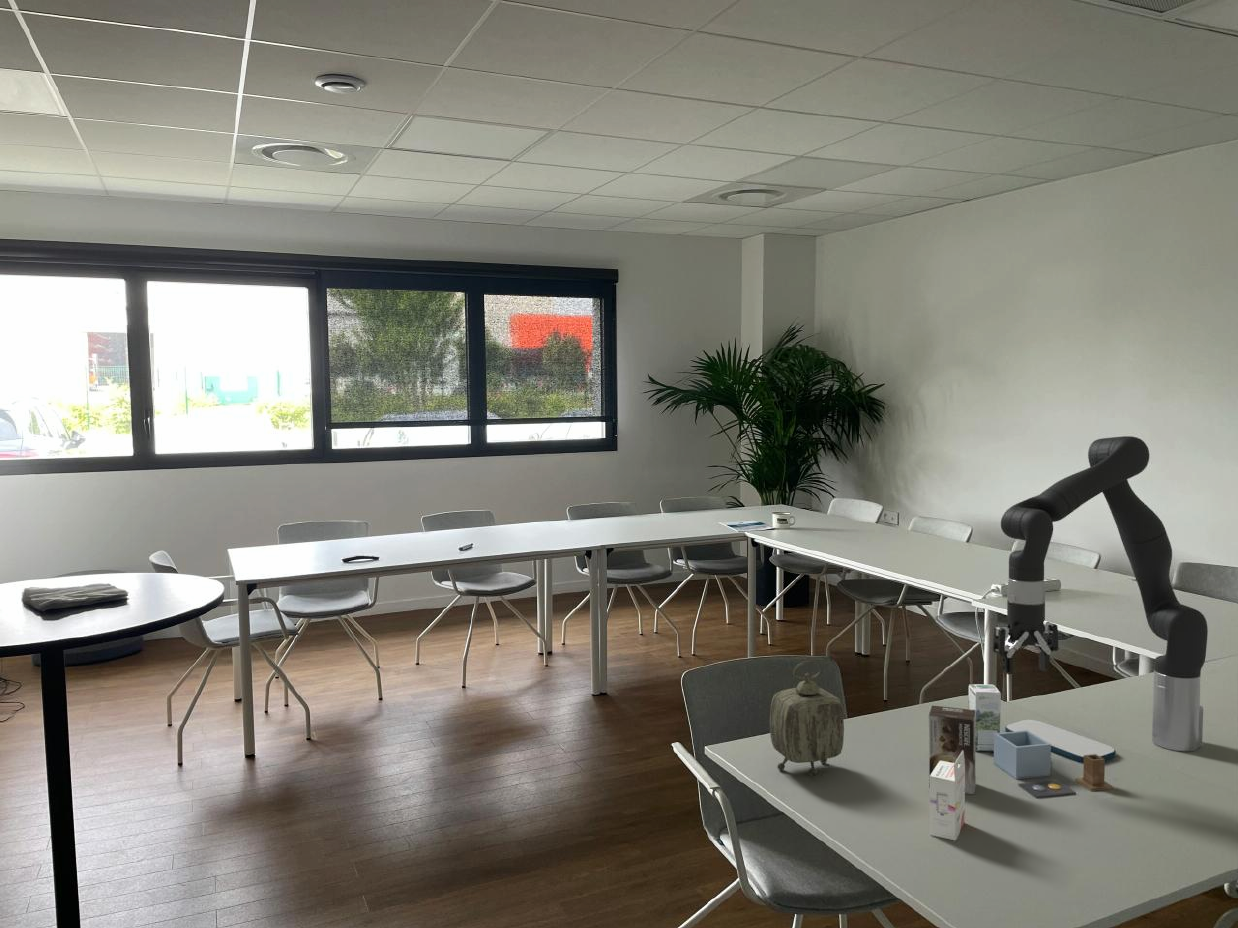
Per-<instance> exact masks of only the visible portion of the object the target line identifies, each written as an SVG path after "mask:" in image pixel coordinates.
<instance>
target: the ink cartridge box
mask: <svg viewBox="0 0 1238 928" xmlns="http://www.w3.org/2000/svg"><path fill="white" fill-rule="evenodd" d="M959 762H961V764H959ZM965 795H966V793H965V761H964V751H962V752H961V754H960V755H959V757H958V758H957V760H956V762H955V763H951V762H946V761H939V763H938V764H937V766H936V767H935V769H934V770H933V772H932V773H931V775H930V788H929V807H930V808H929V814H930V816H929V817H930V819H929V823H930V824H929V825H930V827H929V829H930V831H929V834H930V835H929V836H933V837H935V838H937V837H938V838H941V839H947V840H950V841H957V839H958V838H959V835H960V832H961V830H962V829H963V827H964V824H965V817H966V816H965V813H966V812H965V811H966V808H965V805H966V803H965V802H966V801H965V800H966V797H965Z"/></svg>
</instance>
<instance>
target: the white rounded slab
mask: <svg viewBox="0 0 1238 928" xmlns="http://www.w3.org/2000/svg"><path fill="white" fill-rule="evenodd" d="M1004 729H1005V731H1004V733H1005V732H1016V731H1029V732H1031V733H1032V734H1034V735H1036V736H1038V737H1039V738H1041V739H1043V740H1044V741H1046V742H1048V743H1049V744H1051V754H1056V755H1058V756H1061V757H1063V758H1065V759H1068V760H1070V761H1074V762H1076V763H1080V764H1083V765H1084V755H1092V754H1096V755H1098V756H1100V757H1102V758H1103V759H1105V762H1108V761H1111V760H1113V759H1115V758H1116V754H1117V753H1116V749H1115V748H1114V747H1113V746H1112V745H1111V746H1110V745H1108V744H1107V743H1103V742H1101V741H1098V740H1094V739H1093V738H1089V737H1087V736H1083V735H1081V734H1078V733H1075V732H1073V731H1070V730H1068V729H1064V728H1061V727H1058V726H1055V725H1052V724H1049V723H1047V722H1044V721H1040V720H1035V719H1022V720H1019V721H1014V722H1011V723H1008V724H1006V726H1005V728H1004Z"/></svg>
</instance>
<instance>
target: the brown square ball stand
mask: <svg viewBox="0 0 1238 928" xmlns="http://www.w3.org/2000/svg"><path fill="white" fill-rule="evenodd" d="M1105 762H1106V761H1105V759H1103V758H1102V757H1100V756H1098V755H1096V754H1092V755H1084V764H1083V776H1082V777H1075V778H1074V781H1075V782H1076V783H1077V784H1080V785H1081V786H1082V787H1084V788H1085V789H1087V790H1088V791H1091V792H1093V791H1095V792H1096V791H1103V790H1104V791H1106V790H1113V789H1114V788H1113V785H1111V784H1110V783H1108V782H1107V781H1105V770H1106V769H1105V766H1106V763H1105Z"/></svg>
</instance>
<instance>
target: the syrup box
mask: <svg viewBox="0 0 1238 928" xmlns="http://www.w3.org/2000/svg"><path fill="white" fill-rule="evenodd" d="M1001 701H1002V693H1001V691H1000V690H999V688H997V687H996V685H994V684H984V683H983V684H981V683H980V684H979V683H978V684H973V683H972V684H968V703H967V704H968V705H967V706H968V708H967V709H969V710H975V752H993V753H994V734H995V733H1001V708H1002V707H1001V706H1002V704H1001V703H1002V702H1001Z"/></svg>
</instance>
